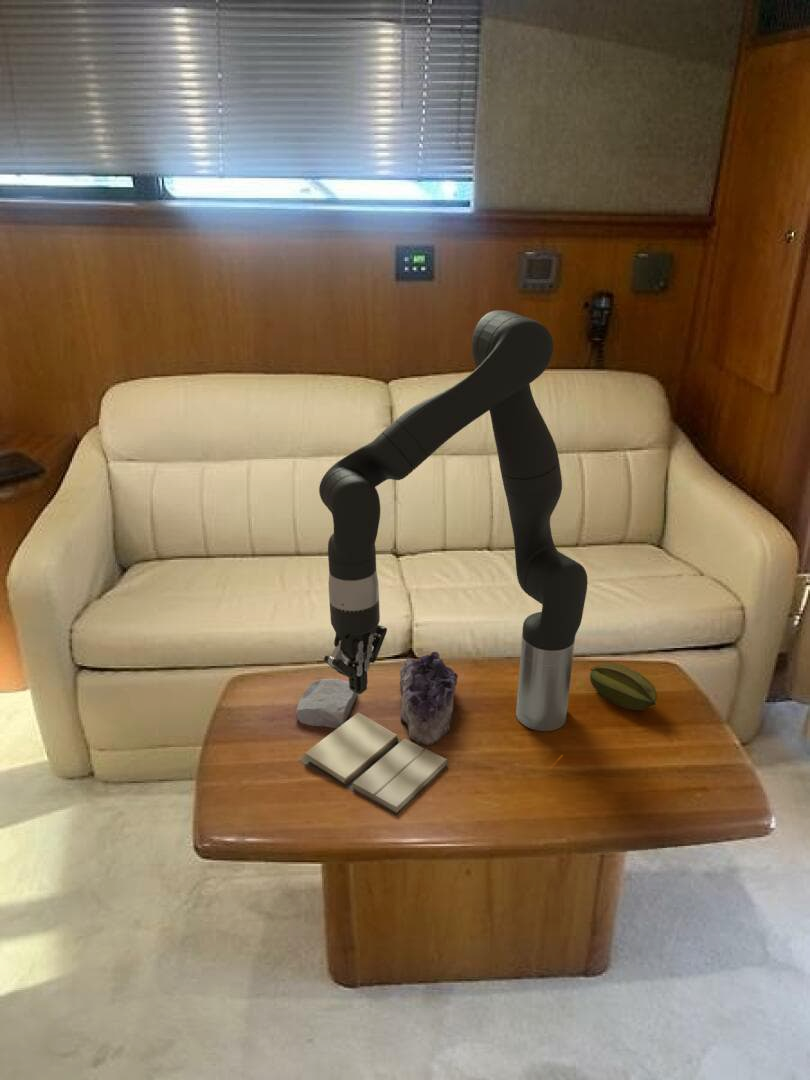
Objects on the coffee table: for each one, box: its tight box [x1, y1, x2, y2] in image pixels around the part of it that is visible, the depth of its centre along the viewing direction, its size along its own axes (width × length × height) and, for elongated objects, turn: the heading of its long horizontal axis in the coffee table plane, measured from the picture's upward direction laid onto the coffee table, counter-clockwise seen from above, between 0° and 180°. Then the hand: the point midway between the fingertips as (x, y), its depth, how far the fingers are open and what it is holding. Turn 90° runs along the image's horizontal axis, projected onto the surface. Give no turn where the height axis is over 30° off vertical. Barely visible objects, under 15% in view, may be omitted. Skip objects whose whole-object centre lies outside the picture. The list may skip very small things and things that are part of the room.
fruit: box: [589, 663, 658, 711], centre depth 150 cm, size 11×12×7 cm
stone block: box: [295, 677, 358, 729], centre depth 148 cm, size 12×5×10 cm
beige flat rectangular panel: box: [304, 712, 399, 784], centre depth 136 cm, size 14×9×1 cm, turn 143°
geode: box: [399, 651, 459, 747], centre depth 146 cm, size 20×12×10 cm, turn 0°
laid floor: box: [298, 738, 450, 817], centre depth 134 cm, size 15×21×2 cm
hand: (358, 690), depth 126 cm, fingers closed
